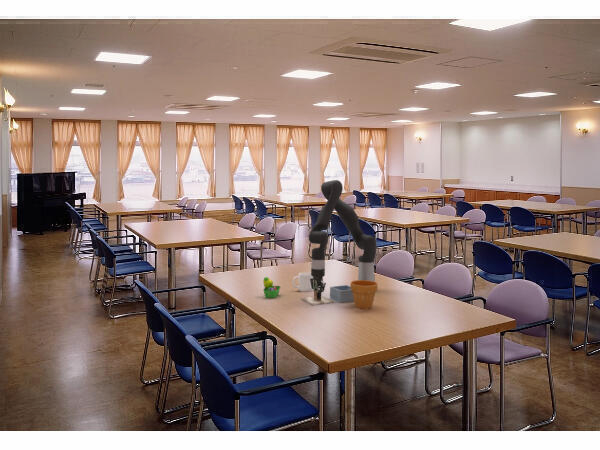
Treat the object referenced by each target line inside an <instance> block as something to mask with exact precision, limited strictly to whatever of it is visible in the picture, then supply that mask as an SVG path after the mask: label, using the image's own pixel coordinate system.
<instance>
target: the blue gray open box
mask: <svg viewBox="0 0 600 450" xmlns="http://www.w3.org/2000/svg"><path fill="white" fill-rule="evenodd" d="M329 299H330V300H332V301H334V302H335V301H336V302H338V303H340V304H341V303H350V302H351V303H352V302H354V298H353V292H352V290H351V285H347V284H343V285H334V286H330V287H329Z"/></svg>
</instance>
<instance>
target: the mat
mask: <svg viewBox="0 0 600 450" xmlns="http://www.w3.org/2000/svg"><path fill="white" fill-rule="evenodd" d="M300 301H303V300H302V298H300ZM303 302H304V303H306V304H308V305H310V306H311V307H312V306H315V305H311V304H309V303H307V302H305V301H303ZM335 303H336V302H335V301H334V303H333V304H335ZM328 304H331V303H327V304H326V305H328ZM320 305H323V304H319V305H318V306H320Z"/></svg>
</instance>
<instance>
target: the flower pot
mask: <svg viewBox="0 0 600 450" xmlns="http://www.w3.org/2000/svg"><path fill="white" fill-rule="evenodd" d="M350 286H351V290H352V292H353V298H354V301H353V302H354V306H355V307H356V308H358V309H362V310H363V309H364V310H368V308H369V309H372V307H373V303H374V299H375V296H376V293H377V291H378V282H377V281H375V282H374V281H369V280H358V279H357V280H353V281H351V282H350Z"/></svg>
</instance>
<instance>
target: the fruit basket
mask: <svg viewBox="0 0 600 450" xmlns="http://www.w3.org/2000/svg"><path fill="white" fill-rule="evenodd" d="M273 284H274V281H273V280H271V279H270V278H269V277H268V276H266V277H264V278H263V286H264V288H263V290H262V291H263V294H264V297H265V298H264V299H269V298H271V299H275V298H276V297H277V296H278V295H279V292H280V289H281V286H280V285H273Z"/></svg>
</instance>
